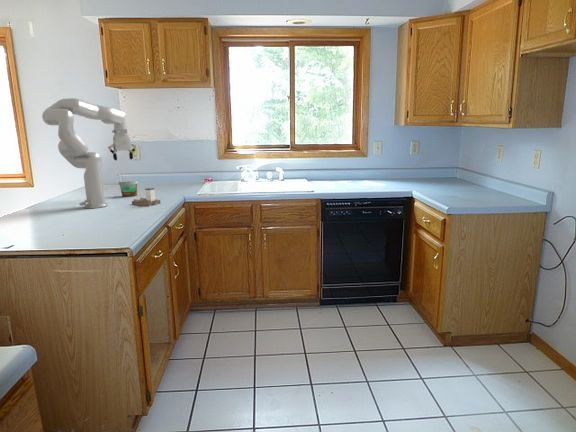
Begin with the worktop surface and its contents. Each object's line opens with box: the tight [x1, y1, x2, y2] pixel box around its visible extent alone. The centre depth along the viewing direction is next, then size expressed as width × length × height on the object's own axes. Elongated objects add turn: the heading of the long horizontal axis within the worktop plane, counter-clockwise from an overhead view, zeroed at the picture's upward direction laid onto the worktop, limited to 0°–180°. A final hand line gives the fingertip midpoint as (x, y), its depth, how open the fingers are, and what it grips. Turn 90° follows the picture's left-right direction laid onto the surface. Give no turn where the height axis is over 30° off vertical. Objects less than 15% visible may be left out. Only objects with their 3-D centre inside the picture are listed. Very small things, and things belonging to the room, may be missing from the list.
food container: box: [118, 180, 139, 198], centre depth 276 cm, size 12×6×10 cm, turn 105°
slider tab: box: [144, 187, 157, 201], centre depth 247 cm, size 4×4×7 cm
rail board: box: [131, 197, 162, 207], centre depth 250 cm, size 9×14×3 cm, turn 63°
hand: (123, 159), depth 264 cm, fingers open, 9 cm apart
